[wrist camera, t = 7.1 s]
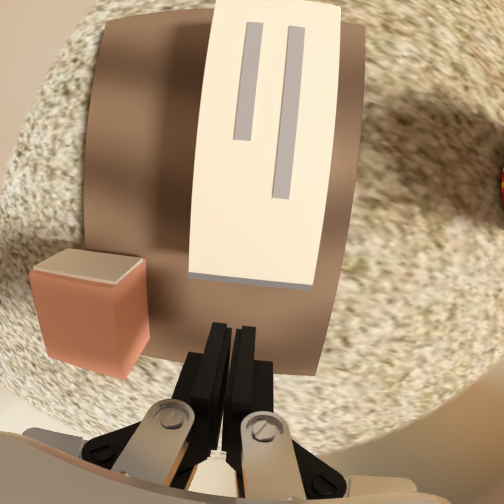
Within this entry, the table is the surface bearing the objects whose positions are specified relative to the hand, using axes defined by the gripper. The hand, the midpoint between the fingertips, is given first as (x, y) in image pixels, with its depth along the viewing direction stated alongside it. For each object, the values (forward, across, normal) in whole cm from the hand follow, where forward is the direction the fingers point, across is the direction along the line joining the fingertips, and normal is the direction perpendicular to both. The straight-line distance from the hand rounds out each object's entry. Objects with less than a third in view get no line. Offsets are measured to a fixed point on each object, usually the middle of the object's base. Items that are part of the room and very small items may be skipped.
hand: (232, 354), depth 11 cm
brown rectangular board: (+6, +2, -5) cm, 8 cm away
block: (+4, +8, +1) cm, 9 cm away
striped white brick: (+5, 0, -8) cm, 10 cm away
